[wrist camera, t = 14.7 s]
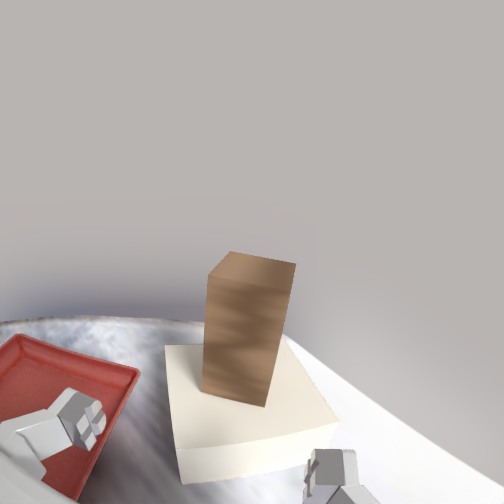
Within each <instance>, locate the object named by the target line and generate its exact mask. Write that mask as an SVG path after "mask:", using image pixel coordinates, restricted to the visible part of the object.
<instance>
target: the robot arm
mask: <svg viewBox="0 0 504 504" xmlns="http://www.w3.org/2000/svg"><path fill="white" fill-rule="evenodd" d="M101 408H102V404H101V402H100V401H99V400H97V399H94V398H92V397H90V396H87V395H85V394H83V393H81V392H79V391H76V390H74V389H72V388H70V387H69V388H67V389H65V390H64V391H63V392H62V394H61V395H60V396H59V397H58V398H57V399H56V400H55V401H54V403H53V404H52V405H51V406H50V407H49V408H48V409H47V410H45V409H43V410H39V411H36V412H33V413H30V414H27V415H23V416H20V417H17V418H13V419H10V420H6V421H3V422H2V423H1V424H0V504H79V503H77V502H75V501H74V500H72V499H70V498H68V497H67V496H65V495H63V494H61V493H60V492H58V491H56V490H55V489H53V488H51V487H50V486H48V485H47V484H45V483H44V482H42V481H41V479H42V478H43V476H44V475H45V473H46V469H45V467H44V466H43V465H42V463H41V462H40V461H41V460H43V459H45V458H48V457H50V456H52V455H54V454H56V453H58V452H60V451H62V450H64V449H66V448H68V447H70V446H72V445H73V444H74V445H76V446H78V447H81V448H83V449H85V450H87V451H90V450H91V448H92V447H93V445H94V444H95V442H96V435H99V434H101V433H102V431H103V430H104V428H105V425H106V416H105V413H104V412H103V411H102V410H101ZM304 482H305V483H306V486H305V488H304V490H303V504H380V503H379V502H378V500H377V499H376V498H375V497H374V496H373V495H372V494H371V493H370V492H369V491H368V490H367V489H366V488H365V487H364V485H360V484H359V475H358V466H357V458H356V452H355V450H340V449H313V450H312V452H311V458H310V459H308V461H307V463H306V466H305V470H304Z"/></svg>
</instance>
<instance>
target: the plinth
mask: <svg viewBox="0 0 504 504" xmlns="http://www.w3.org/2000/svg"><path fill="white" fill-rule="evenodd" d="M203 345H204V344H190V345H165V359H166V371H167V383H168V393H169V403H170V411H171V420H172V428H173V435H174V442H175V449H176V455H177V461H178V467H179V472H180V478H181V483H182V484H194V483H205V482H214V481H222V480H230V479H236V478H243V477H249V476H254V475H259V474H265V473H269V472H274V471H278V470H283V469H287V468H291V467H295V466H299V465H303V464H306V463H307V461H308V459H310V458H311V452H312V450H313V449H327V447H328V445H329V443H330V441H331V439H332V437H333V435H334V432H335V430H336V428H337V426H338V424H339V422H340V421H339V419H338V418H337V417H336V415H335V414H334V412H333V411H332V409H331V408H330V406H329V405H328V403H327V402H326V400H325V399H324V397H323V396H322V394H321V393H320V391H319V390H318V388H317V387H316V385H315V384H314V382H313V381H312V379H311V378H310V376H309V375H308V373H307V372H306V370H305V369H304V367H303V366H302V364H301V363H300V361H299V360H298V358H297V357H296V355H295V354H294V352H293V351H292V349H291V348H290V346H289V345H288V343H287V342H286V340H285V339H284V338H281V341H280V345H279V350H278V354H277V359H276V363H275V367H274V372H273V376H272V380H271V384H270V388H269V392H268V396H267V400H266V404H265V408H264V407H259V406H255V405H250V404H246V403H242V402H237V401H233V400H229V399H226V398H222V397H218V396H214V395H211V394H207V393H204V392H201V388H202V365H203Z"/></svg>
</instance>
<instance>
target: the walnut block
mask: <svg viewBox="0 0 504 504" xmlns="http://www.w3.org/2000/svg"><path fill="white" fill-rule="evenodd" d="M295 266H296V264H295V263H289V262H284V261H279V260H274V259H268V258H263V257H258V256H252V255H247V254H242V253H237V252H229V253H228V254H227V255H226V256H225V258H224V259H223V260H222V261H221V262H220V263H219V264H218V265H217V266H216V267H215V268H214V269H213V270H212V271H211V273H210V274H209V275H208V284H207V298H206V313H205V328H204V345H203V365H202V388H201V392H204V393H207V394H211V395H214V396H218V397H222V398H226V399H229V400H233V401H237V402H242V403H246V404H250V405H255V406H259V407H264V408H265V404H266V400H267V396H268V392H269V388H270V384H271V380H272V376H273V372H274V367H275V363H276V359H277V354H278V350H279V345H280V341H281V336H282V331H283V326H284V322H285V317H286V312H287V308H288V303H289V298H290V293H291V288H292V283H293V277H294V272H295Z"/></svg>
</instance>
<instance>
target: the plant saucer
mask: <svg viewBox="0 0 504 504" xmlns="http://www.w3.org/2000/svg"><path fill="white" fill-rule="evenodd" d="M140 374H141V373H140V371H139V370H138V369H136V368H133V367H129V366H125V365H121V364H117V363H113V362H109V361H105V360H101V359H98V358H94V357H90V356H87V355H83V354H80V353H77V352H73V351H70V350H67V349H64V348H61V347H58V346H55V345H52V344H49V343H46V342H43V341H40V340H37V339H35V338H32V337H30V336H27V335H24V334H15V335H14V336H13V337H11V338H10V339H9V340H8V341H7V342H6V343H5V344H3V345H2V346H1V347H0V424H1V423H2V422H3V421H6V420H10V419H13V418H17V417H20V416H23V415H27V414H30V413H33V412H36V411H39V410H43V409H45V410H47V409H48V408H49V407H50V406H51V405H52V404H53V403H54V401H55V400H56V399H57V398H58V397H59V396H60V395H61V394H62V392H63V391H64V390H65V389H67V388H69V387H70V388H72V389H74V390H76V391H79V392H81V393H83V394H85V395H87V396H90V397H92V398H94V399H97V400H99V401H100V402H101V404H102V408H101V410H102V411H103V412H104V413H105V416H106V425H105V428H104V430H103V431H102V433H101V434H99V435H96V442H95V444H94V445H93V447H92V448H91V450H90V451H87V450H85V449H83V448H81V447H78V446H76V445H74V444H73V445H72V446H70V447H68V448H66V449H64V450H62V451H60V452H58V453H56V454H54V455H52V456H50V457H48V458H45V459H43V460H41V461H40V462H41V463H42V465H43V466H44V467H45V469H46V473H45V475H44V476H43V478H42V479H41V481H42V482H44V483H45V484H47V485H48V486H50V487H51V488H53V489H55V490H56V491H58V492H60V493H61V494H63V495H65V496H67V497H68V498H70V499H72V500H74V501H75V502H77V500H78V498H79V496H80V494H81V492H82V490H83V488H84V485H85V483H86V481H87V479H88V477H89V475H90V473H91V471H92V469H93V467H94V465H95V463H96V461H97V459H98V457H99V455H100V453H101V450H102V448H103V446H104V444H105V442H106V440H107V438H108V436H109V434H110V432H111V430H112V428H113V426H114V424H115V422H116V420H117V418H118V416H119V414H120V412H121V411H122V409H123V407H124V405H125V403H126V401H127V399H128V397H129V395H130V393H131V392H132V390H133V388H134V386H135V384H136V382H137V380H138V378H139V377H140Z"/></svg>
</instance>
